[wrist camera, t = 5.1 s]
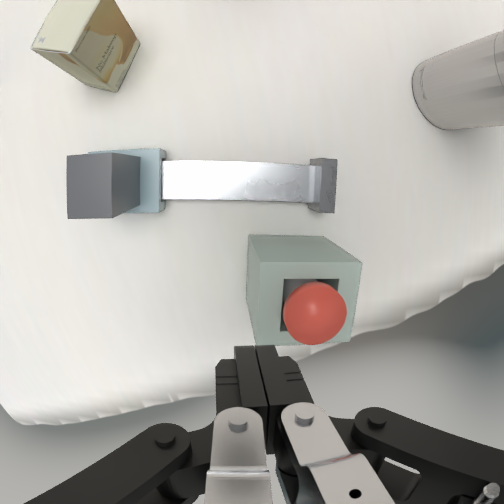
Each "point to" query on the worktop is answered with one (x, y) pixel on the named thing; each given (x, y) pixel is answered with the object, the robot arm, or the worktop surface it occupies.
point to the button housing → (295, 267)
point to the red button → (312, 310)
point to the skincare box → (88, 41)
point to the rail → (252, 181)
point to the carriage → (114, 183)
